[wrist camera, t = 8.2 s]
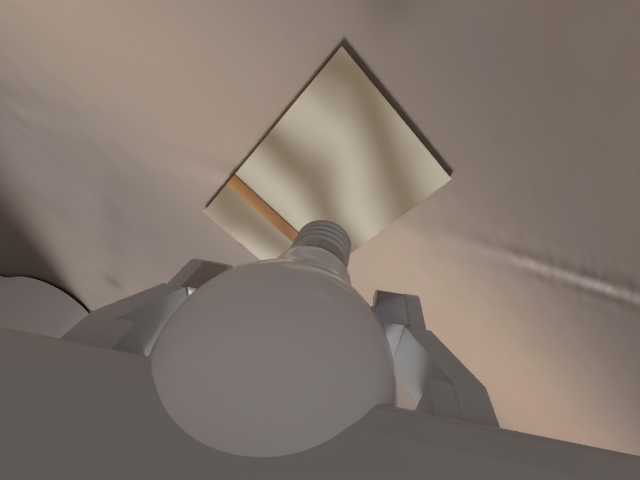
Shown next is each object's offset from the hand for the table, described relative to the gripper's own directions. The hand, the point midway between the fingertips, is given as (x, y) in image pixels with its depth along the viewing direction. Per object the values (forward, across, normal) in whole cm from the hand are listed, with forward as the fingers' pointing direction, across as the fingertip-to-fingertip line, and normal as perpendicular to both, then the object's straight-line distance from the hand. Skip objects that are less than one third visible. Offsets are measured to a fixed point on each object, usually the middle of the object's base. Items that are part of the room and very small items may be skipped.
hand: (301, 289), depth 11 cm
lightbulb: (+4, 0, 0) cm, 4 cm away
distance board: (+16, +2, +3) cm, 17 cm away
